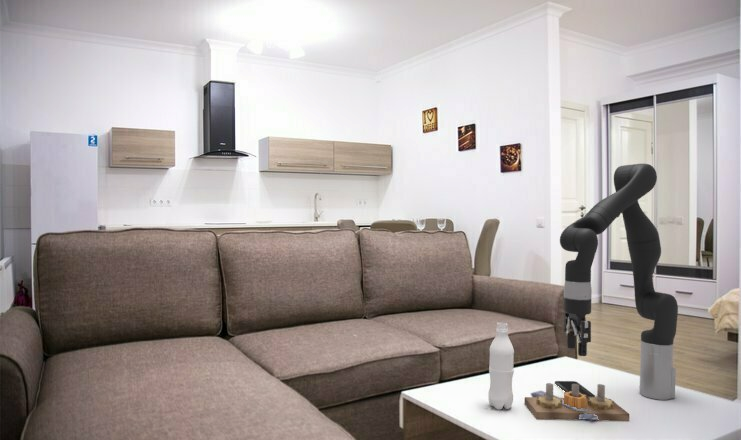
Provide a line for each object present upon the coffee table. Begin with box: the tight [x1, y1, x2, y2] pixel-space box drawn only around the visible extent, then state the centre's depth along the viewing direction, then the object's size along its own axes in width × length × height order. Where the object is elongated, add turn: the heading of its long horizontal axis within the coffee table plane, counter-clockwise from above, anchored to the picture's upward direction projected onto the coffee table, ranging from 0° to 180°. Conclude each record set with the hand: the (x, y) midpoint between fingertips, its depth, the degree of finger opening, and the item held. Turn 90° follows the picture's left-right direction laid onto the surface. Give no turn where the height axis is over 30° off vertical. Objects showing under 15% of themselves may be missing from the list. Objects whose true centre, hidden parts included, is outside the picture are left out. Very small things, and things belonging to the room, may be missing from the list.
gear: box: [563, 391, 586, 409], centre depth 155 cm, size 6×6×3 cm
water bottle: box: [488, 321, 515, 410], centre depth 158 cm, size 7×7×25 cm
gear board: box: [524, 382, 630, 422], centre depth 155 cm, size 26×12×8 cm, turn 90°
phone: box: [554, 380, 596, 398], centre depth 174 cm, size 8×1×15 cm
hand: (576, 351), depth 154 cm, fingers open, 8 cm apart
